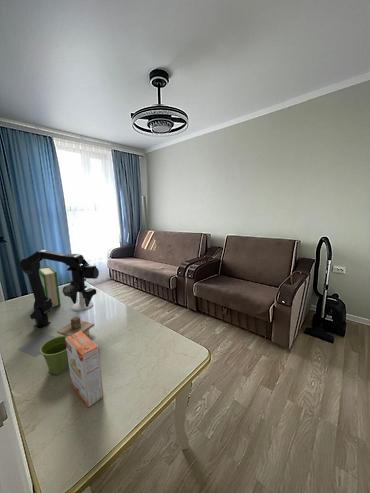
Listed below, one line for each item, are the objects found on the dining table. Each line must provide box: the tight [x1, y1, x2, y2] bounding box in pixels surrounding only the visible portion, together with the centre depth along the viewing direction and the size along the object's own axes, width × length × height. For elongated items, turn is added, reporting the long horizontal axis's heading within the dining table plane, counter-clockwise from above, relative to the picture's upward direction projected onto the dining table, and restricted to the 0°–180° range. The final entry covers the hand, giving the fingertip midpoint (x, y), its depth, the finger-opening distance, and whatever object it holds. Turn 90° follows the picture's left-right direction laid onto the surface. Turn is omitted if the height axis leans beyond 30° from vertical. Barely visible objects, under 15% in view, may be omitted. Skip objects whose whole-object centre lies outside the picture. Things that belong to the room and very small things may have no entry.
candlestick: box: [71, 264, 94, 312], centre depth 136 cm, size 13×13×30 cm
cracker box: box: [65, 331, 104, 409], centre depth 74 cm, size 14×6×21 cm, turn 49°
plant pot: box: [40, 335, 69, 376], centre depth 86 cm, size 12×12×11 cm
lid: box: [56, 316, 95, 336], centre depth 106 cm, size 12×12×6 cm
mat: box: [17, 333, 56, 357], centre depth 101 cm, size 13×13×1 cm
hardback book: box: [39, 265, 61, 308], centre depth 141 cm, size 18×7×24 cm, turn 45°
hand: (80, 305), depth 114 cm, fingers open, 9 cm apart
